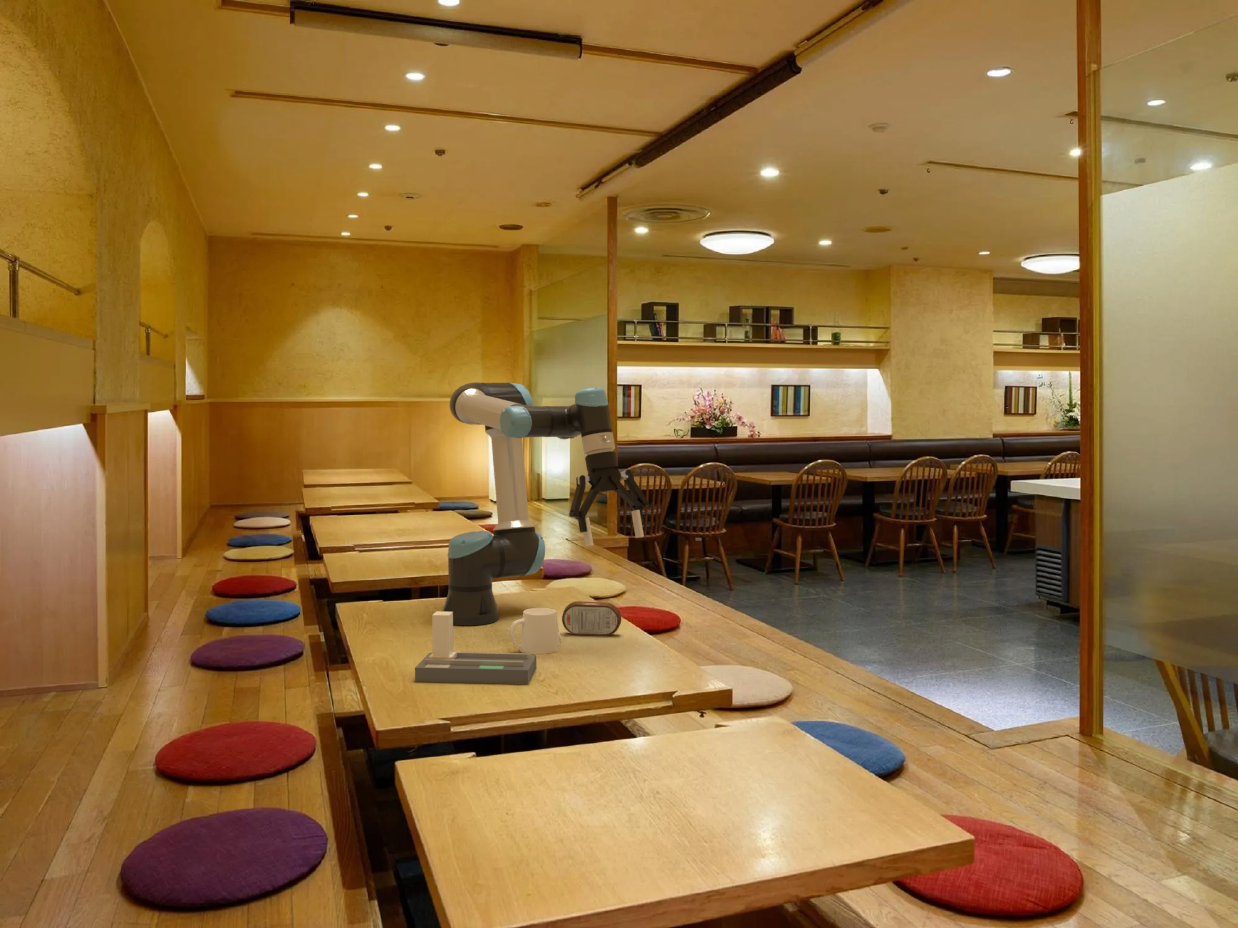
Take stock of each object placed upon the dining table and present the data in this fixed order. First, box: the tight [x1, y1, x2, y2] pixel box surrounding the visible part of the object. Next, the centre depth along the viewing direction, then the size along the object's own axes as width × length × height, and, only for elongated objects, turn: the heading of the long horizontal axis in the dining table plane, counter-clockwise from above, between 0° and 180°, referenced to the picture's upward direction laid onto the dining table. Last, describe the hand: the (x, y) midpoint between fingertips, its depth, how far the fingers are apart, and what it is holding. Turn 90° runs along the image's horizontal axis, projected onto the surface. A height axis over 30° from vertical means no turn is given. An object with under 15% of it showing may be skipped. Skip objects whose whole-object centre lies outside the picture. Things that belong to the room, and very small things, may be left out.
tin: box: [561, 600, 622, 637], centre depth 241 cm, size 15×3×8 cm, turn 84°
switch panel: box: [414, 651, 537, 685], centre depth 205 cm, size 12×24×4 cm, turn 87°
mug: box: [509, 607, 562, 655], centre depth 225 cm, size 12×9×8 cm
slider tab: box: [429, 610, 458, 659], centre depth 205 cm, size 4×5×10 cm
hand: (615, 541), depth 223 cm, fingers open, 13 cm apart
